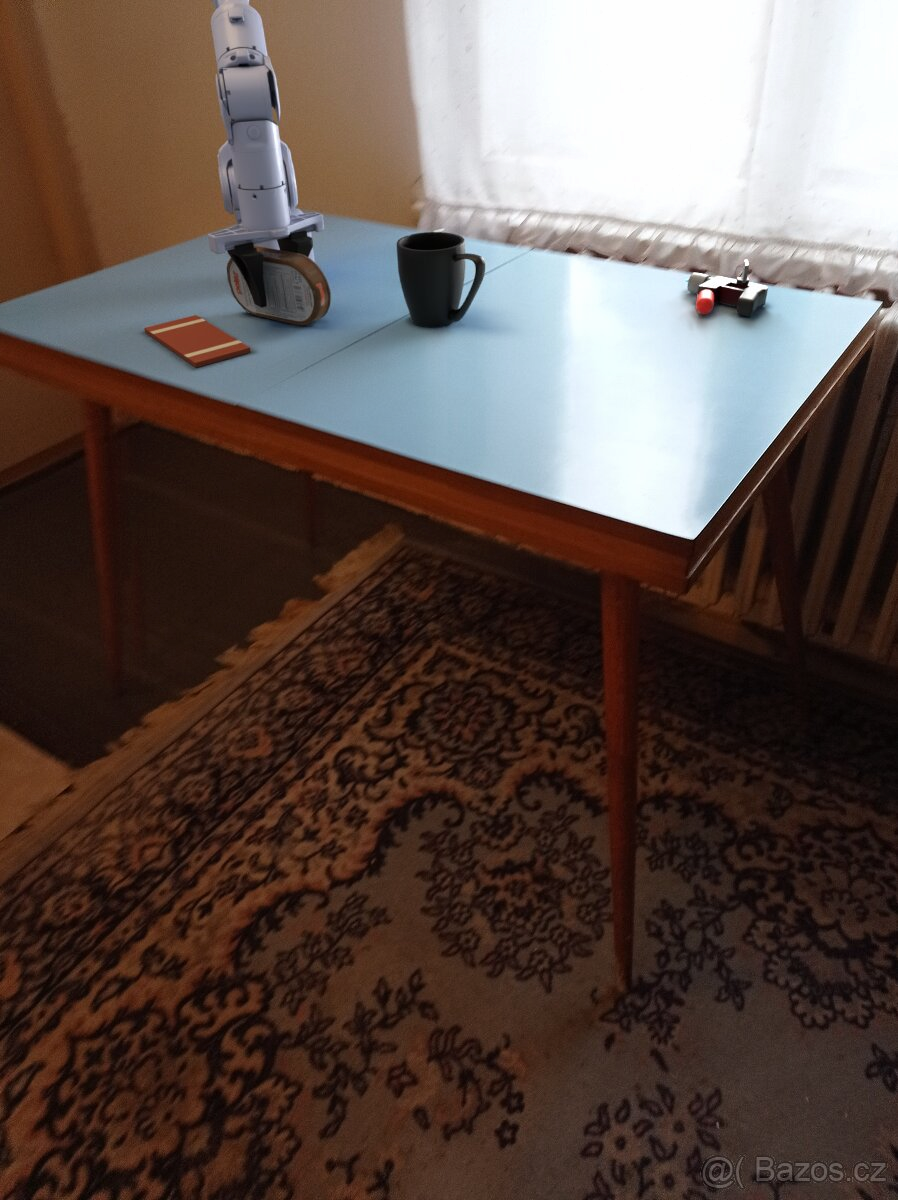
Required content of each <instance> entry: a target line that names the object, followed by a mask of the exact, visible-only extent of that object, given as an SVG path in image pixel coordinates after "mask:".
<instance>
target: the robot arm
mask: <svg viewBox="0 0 898 1200" xmlns="http://www.w3.org/2000/svg"><path fill="white" fill-rule="evenodd" d="M211 1H212V4H213V7H214V9H215V10H214V12H213V13H212V15H211V17H210V18H211V19H210V29H211V34H212V40H213V47H214V54H215V60H216V66H217V73H215V79H214V80H215V85H216V93H217V99H218V104H219V110H220V116H221V119H222V123H223V126H224V129H225V132H226V138H227V140H226V141H225V142H224V143H223V144H222V145H221V146H220V148H219V149H218V154H217V155H216V157H217V163H218V167H217V168H218V177H219V182H220V189H221V195H222V200H223V201H222V202H223V205H224V206H223V207H224V210H225V211H226V212H227V213H228V214H229V215H234V218H235V220H236V225H233V226H231V227H227V228H225V229H221V230H218V231H216V232H211V233H208V234H207V238H208V244H209V250H210V252H212V253H214V254H216V255H221V254H225V253H226V252H227V254H228V256H229V257H230V258H232V259H233V261H234V262H235V264H236V265H237V267H238V269H239V270H240V272H241V274H242V275H243V277H244V279H245V281H246V283H247V285H248V288H249V290H250V293H251V295H252V298H253V301H254V304H256V305H257V306H259V307H261V308H263V307H266V306H267V300H266V293H265V287H264V280H263V257H264V255H263V254H262V253H260V252H258V251H257V248H254V245H255V246H261V247H266V248H271V249H276V250H282V251H287V252H293V253H298V254H302V255H305V256H307V257H308V258H310V259H311V260H313V261H314V262H315V254H314V241H313V238H312V233H313V232H315V233H321V232H325V224H324V223H325V222H324V215H323V214H322V213H319V212H316V211H311V212H306V213H304V212H303V210H301V209H299V208H297V207H298V205H299V195H298V187H297V179H296V172H295V168H294V163H293V160H292V153H291V150H290V148H289V147H288V144H287V143H285V142H284V141H283V140H282V139H281V137H280V130H279V129H280V128H279V124H278V123H280V121H281V104H280V103H281V102H280V95H279V88H278V81H277V76H276V73H275V70H274V68H273V65H272V62H271V57H270V56H269V55H268V50H267V43H266V37H265V30H264V25H263V20H262V17H261V15H260V13H259V12H258V11H257V10H256V9H255V8H254V7H252V6H251V5H250V0H211ZM273 110H274V111H275V113H276V119H277V122H278V123H277V122H276V121H275V120H274V116H273Z"/></svg>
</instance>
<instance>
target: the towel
mask: <svg viewBox="0 0 898 1200" xmlns="http://www.w3.org/2000/svg"><path fill="white" fill-rule="evenodd" d="M143 330H144V333H145V334H147V335H148V336H150V338H152V339H154V341H155V340H156V341H157V342H158V343H160V344H161V345H162V346H164V347H166V348H167V349H168V350H170V351H171V352H173V353H174V354H176V355H177V356H178V357H180V358H181V359H183V360H184V361H186V362H187V363H189V364H190V365H192V366H193V367H194V368H201V367H203V366H207V365H210V364H214V363H218V362H220V361H225V360H228V359H232V358H235V357H239V356H242V355H246V354H249V353H252V350H251V347H250V346H249V345H247V344H245V343H244V342H243V341H241V340H240V339H237V338H235V337H233V336H232V335H230V334H228V333H227V332H225V331H223V330H222V329H220V328H218V327H217V326H215V325H213V324H212V323H211V322H209V321H207V320H206V319H205V318H202V317H200V316H198V315H197V314H194V315H191V316H185V317H182V318H177V319H175V320H171V321H167V322H163V323H162V322H161V323H159V324H155V325H150V326H146V327H144V328H143Z"/></svg>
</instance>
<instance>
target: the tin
mask: <svg viewBox="0 0 898 1200" xmlns="http://www.w3.org/2000/svg"><path fill="white" fill-rule="evenodd" d="M254 248H257V251H258V252H260V253H262V254H263V255H264V257H263V280H264V287H265V293H266V300H267V306H266V307H263V308H261V307H259V306H257V305H256V304H254V301H253V298H252V295H251V293H250V290H249V288H248V285H247V283H246V281H245V279H244V277H243V275H242V274H241V272H240V270H239V269H238V267H237V265H236V264H235V262H234V261H233V259H232V258H231V257H230V258H229V260H228V262H227V264H226V276H227V281H228V285H229V288H230V291H231V294H232V296H233V298H234V300H235V301H236V302H237V304H238V305H239V306H240V307H241V308H242V309H244V311H246V312H247V313H249V314H251V315H253V316H256V317H259V318H260V317H261V318H265V319H270V320H274V321H278V322H283V323H288V324H291V325H296V326H301V327H302V326H307V325H310V324H312V323H314V322H316V321H318V320H321V319H322V318H324V317H325V316H326V315H327V313H328V312H329V310H330V308H331V301H332V295H331V294H332V292H331V288H330V285H329V282H328V279H327V277H326V275H325V273H324V271H323V270H322V269H321V267H320V266H319V265H318V264H317V263H316V262H315V260H314V261H313V260H311V259H310V258H308V257H307V256H305V255H302V254H298V253H293V252H287V251H282V250H276V249H271V248H266V247H261V246H255V245H254Z"/></svg>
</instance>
